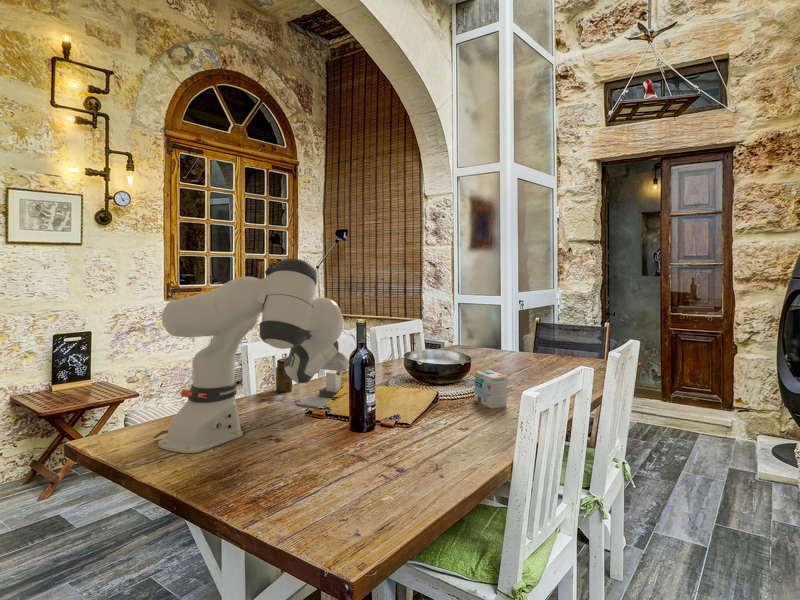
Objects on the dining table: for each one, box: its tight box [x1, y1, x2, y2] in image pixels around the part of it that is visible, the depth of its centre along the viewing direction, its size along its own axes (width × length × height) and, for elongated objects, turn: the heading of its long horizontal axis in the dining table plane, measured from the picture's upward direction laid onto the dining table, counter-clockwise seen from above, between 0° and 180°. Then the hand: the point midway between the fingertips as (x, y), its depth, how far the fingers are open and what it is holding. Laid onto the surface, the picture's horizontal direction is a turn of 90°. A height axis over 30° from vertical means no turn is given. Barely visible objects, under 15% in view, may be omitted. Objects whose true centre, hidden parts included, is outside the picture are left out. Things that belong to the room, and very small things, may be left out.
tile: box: [295, 395, 332, 409], centre depth 166 cm, size 10×10×1 cm
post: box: [325, 370, 342, 392], centre depth 177 cm, size 4×4×8 cm
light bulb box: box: [473, 369, 508, 409], centre depth 168 cm, size 11×7×11 cm, turn 25°
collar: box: [318, 386, 344, 398], centre depth 177 cm, size 8×8×2 cm
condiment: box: [273, 358, 295, 395], centre depth 180 cm, size 7×8×12 cm
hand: (328, 372), depth 172 cm, fingers open, 8 cm apart
